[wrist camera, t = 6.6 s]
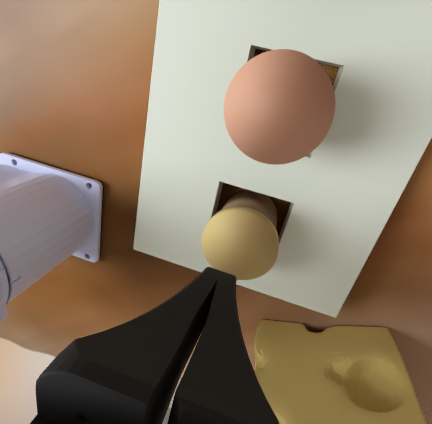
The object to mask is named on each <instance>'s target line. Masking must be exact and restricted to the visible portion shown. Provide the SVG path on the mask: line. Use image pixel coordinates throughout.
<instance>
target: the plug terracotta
mask: <svg viewBox="0 0 432 424" xmlns="http://www.w3.org/2000/svg"><path fill="white" fill-rule="evenodd" d="M334 113H335V93H334V88H333V85H332V82H331V80H330V78H329V76H328V74H327V72H326V71H325V70H324V68H323V67H322V66H321V65H320V64H319V63H318V62H317V61H316V60H314V59H313V58H312V57H310V56H308V55H306V54H304V53H302V52H299V51H295V50H290V49H277V50H271V51H267V52H264V53H262V54H259V55H257V56H255V57H254V58H252V59H250V60H249V61H248V62H247V63H245V64H244V65H243V66H242V67H241V68H240V69H239V70H238V72H237V73H236V74H235V76H234V77H233V79H232V81H231V83H230V85H229V87H228V89H227V93H226V96H225V101H224V120H225V125H226V128H227V131H228V133H229V135H230V137H231V139H232V141H233V142H234V144H235V145H236V146H237V147H238V149H239V150H240V151H242V152H243V153H244V154H245V155H247V156H248V157H250V158H252V159H254V160H256V161H258V162H261V163H266V164H273V165H279V164H287V163H291V162H294V161H297V160H299V159H301V158H303V157H305V156H307V155H308V154H310V153H311V152H312V151H313V150H315V149H316V148H317V147H318V146H319V145H320V143H321V142H322V141H323V140H324V138H325V137H326V135H327V133H328V132H329V129H330V127H331V125H332V122H333V118H334Z"/></svg>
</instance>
